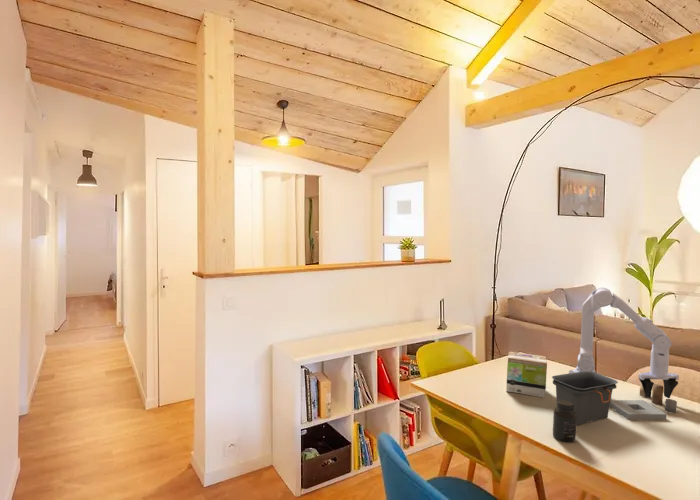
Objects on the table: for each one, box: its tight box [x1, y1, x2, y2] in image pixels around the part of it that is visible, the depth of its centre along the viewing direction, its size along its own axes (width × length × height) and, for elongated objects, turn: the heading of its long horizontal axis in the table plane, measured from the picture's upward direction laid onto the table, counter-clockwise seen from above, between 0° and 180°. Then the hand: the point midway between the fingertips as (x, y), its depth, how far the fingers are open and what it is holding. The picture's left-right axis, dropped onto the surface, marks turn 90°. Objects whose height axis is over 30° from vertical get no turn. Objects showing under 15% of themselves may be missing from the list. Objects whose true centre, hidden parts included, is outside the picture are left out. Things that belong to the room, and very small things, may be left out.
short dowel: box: [664, 398, 678, 414], centre depth 161 cm, size 3×3×4 cm
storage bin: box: [551, 371, 619, 426], centre depth 154 cm, size 21×16×14 cm
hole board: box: [609, 399, 668, 421], centre depth 160 cm, size 14×12×2 cm
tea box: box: [506, 351, 548, 398], centre depth 179 cm, size 15×10×15 cm, turn 68°
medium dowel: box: [639, 381, 649, 399], centre depth 175 cm, size 3×3×6 cm
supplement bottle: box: [552, 400, 577, 443], centre depth 140 cm, size 7×7×12 cm
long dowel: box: [651, 383, 664, 406], centre depth 167 cm, size 3×3×7 cm
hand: (657, 397), depth 168 cm, fingers open, 7 cm apart
